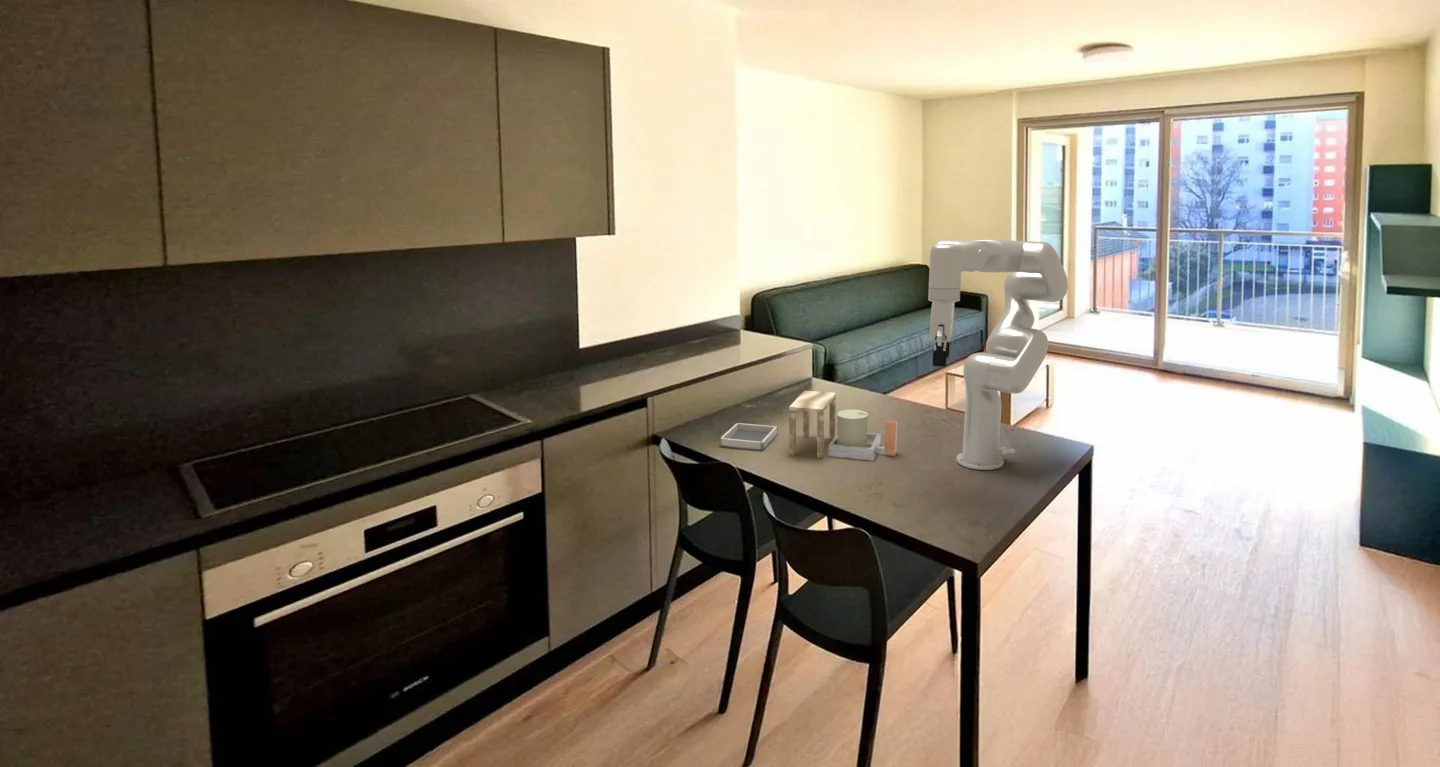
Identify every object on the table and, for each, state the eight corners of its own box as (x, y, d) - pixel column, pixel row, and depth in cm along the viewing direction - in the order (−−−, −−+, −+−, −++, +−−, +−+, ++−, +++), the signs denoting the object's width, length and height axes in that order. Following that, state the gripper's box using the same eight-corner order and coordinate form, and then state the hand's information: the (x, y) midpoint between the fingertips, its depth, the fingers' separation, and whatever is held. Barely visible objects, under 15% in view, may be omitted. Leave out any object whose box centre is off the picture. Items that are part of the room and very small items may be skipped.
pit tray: (777, 434, 239) (777, 426, 238) (763, 451, 224) (762, 442, 224) (736, 430, 244) (736, 422, 243) (719, 446, 229) (719, 438, 229)
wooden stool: (835, 438, 233) (835, 392, 229) (822, 458, 217) (822, 409, 213) (804, 435, 237) (804, 390, 233) (789, 455, 221) (789, 406, 217)
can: (869, 455, 218) (870, 416, 215) (838, 456, 218) (838, 417, 215) (865, 444, 227) (865, 407, 224) (834, 445, 227) (835, 408, 224)
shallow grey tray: (898, 446, 225) (899, 415, 222) (892, 462, 212) (893, 429, 209) (838, 441, 231) (838, 410, 228) (828, 456, 218) (828, 424, 216)
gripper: (931, 289, 193) (928, 353, 197) (924, 299, 177) (922, 368, 182) (961, 289, 190) (958, 354, 195) (957, 300, 175) (954, 370, 179)
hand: (940, 361), depth 188 cm, fingers open, 9 cm apart
